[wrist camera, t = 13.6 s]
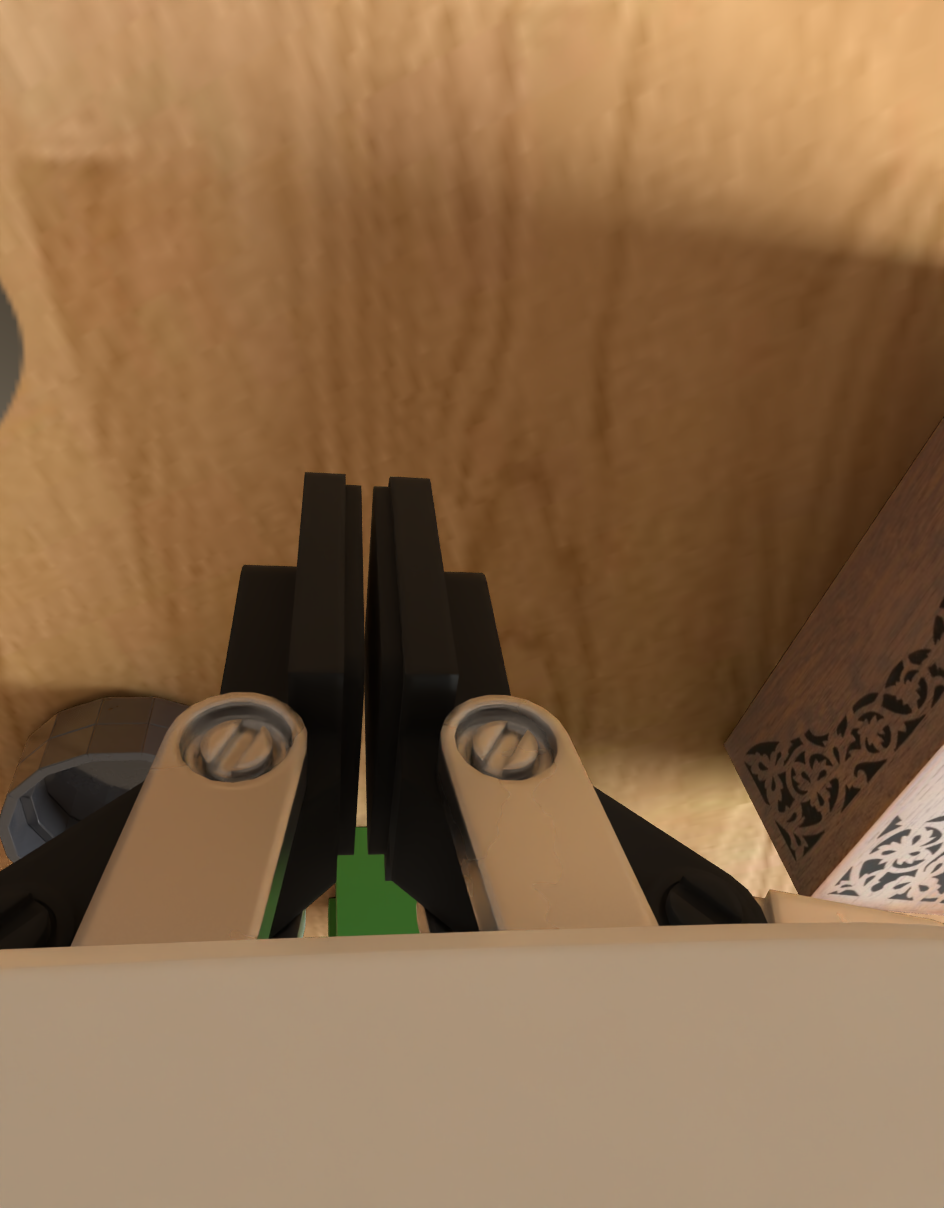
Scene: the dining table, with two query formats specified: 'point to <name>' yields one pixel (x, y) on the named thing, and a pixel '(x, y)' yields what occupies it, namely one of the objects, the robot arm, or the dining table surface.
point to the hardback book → (368, 897)
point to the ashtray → (81, 766)
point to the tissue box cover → (863, 717)
